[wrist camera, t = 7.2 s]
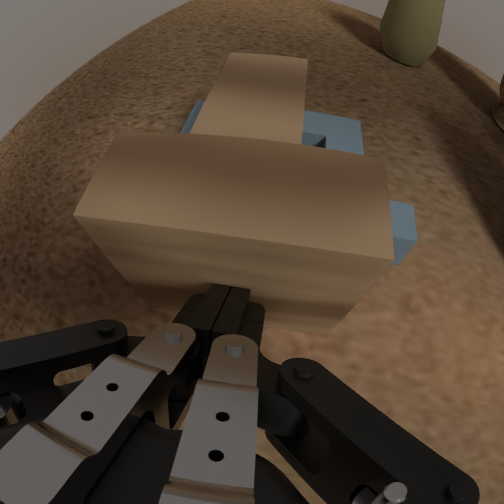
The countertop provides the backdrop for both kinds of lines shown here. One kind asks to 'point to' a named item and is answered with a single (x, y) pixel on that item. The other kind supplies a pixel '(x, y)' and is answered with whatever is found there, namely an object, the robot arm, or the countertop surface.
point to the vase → (499, 107)
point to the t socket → (349, 140)
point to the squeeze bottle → (411, 30)
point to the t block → (244, 204)
